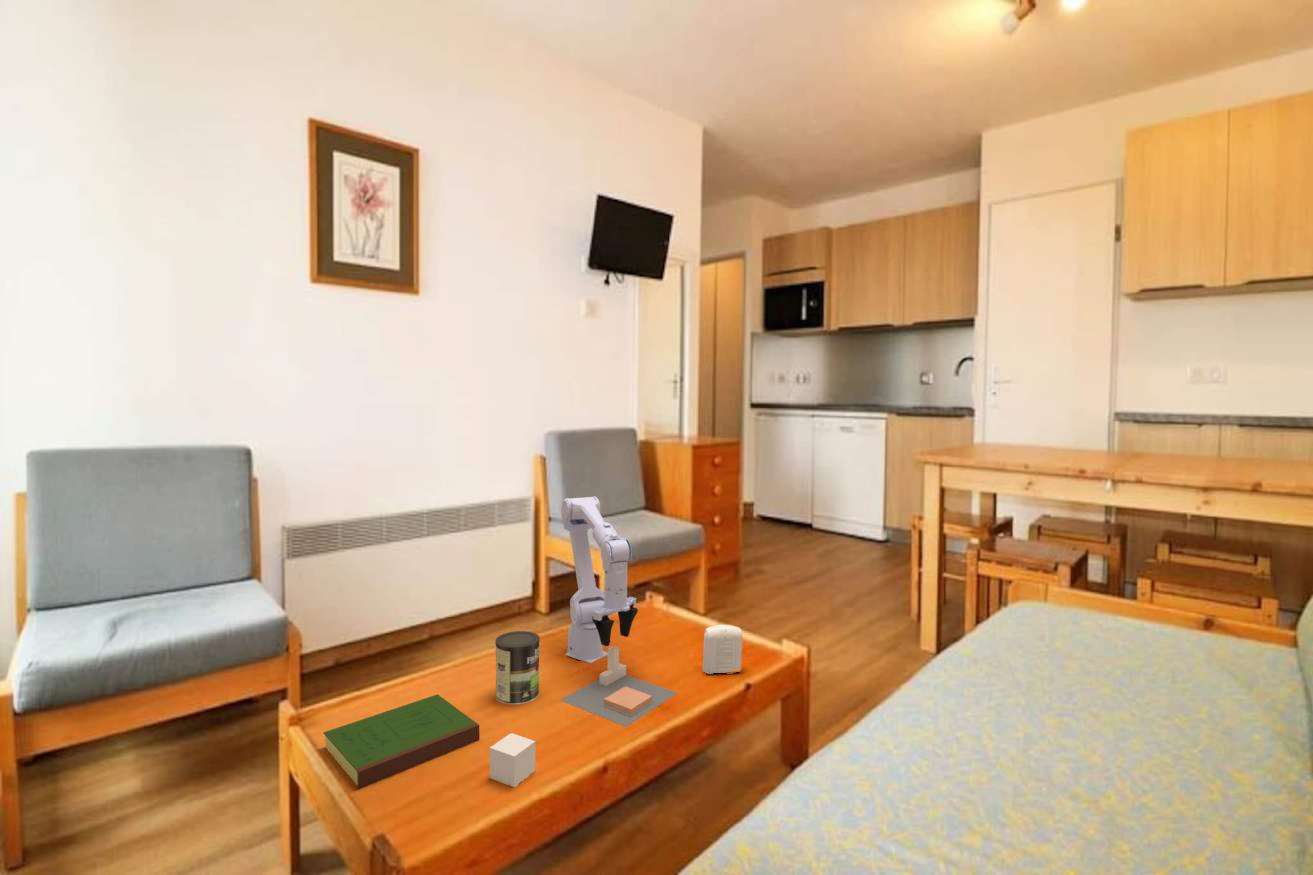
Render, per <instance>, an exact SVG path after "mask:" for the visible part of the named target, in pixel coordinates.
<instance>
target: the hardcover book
mask: <svg viewBox="0 0 1313 875" xmlns="http://www.w3.org/2000/svg"><path fill="white" fill-rule="evenodd" d="M323 735H324V736H325V737H324V738H325V749H326V748H327V749H328V750H327V749H326V750H327V751H328V753H329V752H330V753H331V754H332V755H331V754H330V755H331V756H332V757H333V759H335V761H336V763H338V765H339V766H340V765H341V766H340V767H341V768H342V769H343V771H344V772H345V771H346V772H345V773H346V774H347V776H349V777H350V779H351V780H352V781H353V783H355V785H356V786H357V789H358V790H360V789H363V788H366V787H368V786H370V785H373V784H375V783H378V782H380V781H382V780H385V779H388V778H390V777H392V776H395V775H398V774H400V773H402V772H404V771H407V770H409V769H412V768H415V767H417V766H419V765H422V764H424V763H426V762H427V763H428V762H429V761H431V760H434V759H437V758H439V757H442V756H444V755H446V754H449V753H451V752H453V751H457V750H458V749H461V748H463V747H465V746H468V745H471V744H473V743H476V742H478V741H480V724H479V723H478V722H476V721H475V720H474V719H472V718H471V717H470V716H468V715H466V714H465V713H463V711H462V710H460V709H458V708H457V707H456V706H454V705H453V704H452V703H450V702H449V701H447V699H445V698H444V697H442V696H441V695H440V694H435V695H432V696H428V697H425V698H423V699H420V700H415V701H413V702H411V703H408V704H404V705H402V706H399V707H396V708H392V709H390V710H389V709H388V710H387V711H383V712H381V713H377V714H375V715H371V716H368V717H366V718H365V717H364V718H363V719H360V720H356V721H354V722H351V723H347V724H344V725H341V726H339V727H336V728H333V729H332V728H331V729H330V730H326V731H323Z"/></svg>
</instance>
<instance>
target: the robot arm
mask: <svg viewBox="0 0 1313 875" xmlns="http://www.w3.org/2000/svg"><path fill="white" fill-rule="evenodd" d="M560 512H561V518H562V525H563V529H564V530H566V531H567V532H569V537H570V542H571V543H570V544H571V549H572V556H573V562H574V568H575V570H574V571H575V576H576V583H577V588H578V589H577V591H576V592H575V593H574V594H573V595H572V596H571V598H570V600H569V604H570V605H569V606H570V609H569V616H570V620H571V624H570V625H569V627H568V630H567V652H566V653H565V656H567V657H570V658H573V659H575V660H579V661H584V662H587V663H591V664H592V663H593V662H596V661H597V660H600V659H602V658H604V657H606V656H608V651H604V650H603V649H604V648H603V647H610V644H611V633H612V629H613V626H614V623H615V620H613V619H611V618H610V616H611V615H614V614H616V613H617V616H618V619H619V620H618V622H619V633H620V636H622V637H625V638H628V637H629V635H630V633H631V628H632V625H633V622H634V620H635V617H636V616H637V613H638V608H637V598H636V597H633V596H629V597H628V563H629V562H630V561H631V560H632V556H633V549H632V544H631V542H630V540H629V539H628V538H625V537H620V535H619V533H618V532H617V531H616V530H615V528H614V527H613V525H612V524H611V523H610V522H606V521H605V520H604V517H603V516H602V514H601V502H600V500H599V498H598V497H597V496H594V495H593V496H586V497H585V496H584V497H573V498H572V497H570V498H568V497H565V498H564V499H563V501H562V503H561V511H560ZM590 529H591V530H592V538H593V539H594V541H595V543H596V544H597V545H598V547H599V549H600V556H601V557H600V558H601V560H602V569H603V570H604V581H603V582H604V584H603V585H604V586H603V588H604V589H603V590H602V589H599V588H598V587H597V584H596V580H595V573H594V567H593V560H592V555H591V554H592V553H591V547H590V542H589V536H588V535H589V534H588V531H589V530H590Z"/></svg>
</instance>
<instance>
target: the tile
mask: <svg viewBox="0 0 1313 875" xmlns="http://www.w3.org/2000/svg"><path fill="white" fill-rule="evenodd" d="M651 703H652V696H651V695H648V694H645V693H643V692H640V691H637V690H634V689H631V688H629V687H626V686H625V687H623V688H622V689H620V690H618V691H617V692H615V693H613V694H611V695H610V696H608V697H606V698H604V706H605V707H607V708H610V709H613V710H615V711H618V712H620V713H623V714H625V715H628V716H633V715H634V714H636V713H637V712H639V711H641V710H642V709H644V708H645V707H647V706H648V705H650V704H651Z"/></svg>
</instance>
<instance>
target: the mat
mask: <svg viewBox="0 0 1313 875" xmlns="http://www.w3.org/2000/svg"><path fill="white" fill-rule="evenodd" d="M625 686H626V687H629V688H631V689H634V690H637V691H640V692H643V693H645V694H648V695H651V696H652V703H651V704H650V705H648V706H647V707H645V708H644V709H642V710H641V711H639V712H637V713H636V714H634V715H633V716H628V715H625V714H623V713H620V712H618V711H615V710H613V709H610V708H607V707H605V706H604V698H606V697H608V696H610V695H611V694H613V693H615V692H617V691H618V690H620V689H622V688H623V687H625ZM677 694H678V691H674V690H671V689H668V688H665V687H663V686H661V685H660V686H659V685H656V684H653V683H651V682H647V681H646V680H643V679H639V678H638V677H637V678H635V677H634V676H631V675H627V674H626V675H625V676H623V677H621V678H619V679H618V680H616V681H614V682H612V683H611V684H609V685H607V686H604V685H601V684H600V678H598V679H596V680H594V681H593V682H590V683H588V684H586V685H585V686H582V687H580V688H579V689H577V690H575V691H573V692H572V693H570V694H568V695H566V696H564V697H562V698H561V699H559V701H561V702H564V703H566V704H569V705H571V706H574V707H576V708H579V709H581V710H583V711H586V712H589V713H592V714H593V715H596V716H598V717H601V718H603V719H606V720H607V721H608V720H609V721H611V722H613V723H616V724H618V725H621V726H623V727H626V728H627V727H628V726H630V725H632V724H633V723H635V722H636V721H638V720H639V719H641V718H643V717H644V716H645V715H646V714H648V713H650V712H651V711H653V710H655V709H656V708H657V707H659V706H661V705H662V704H664V703H665V702H666V701H668V700H669V699H670V698H672V697H674V696H675V695H677Z"/></svg>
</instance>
